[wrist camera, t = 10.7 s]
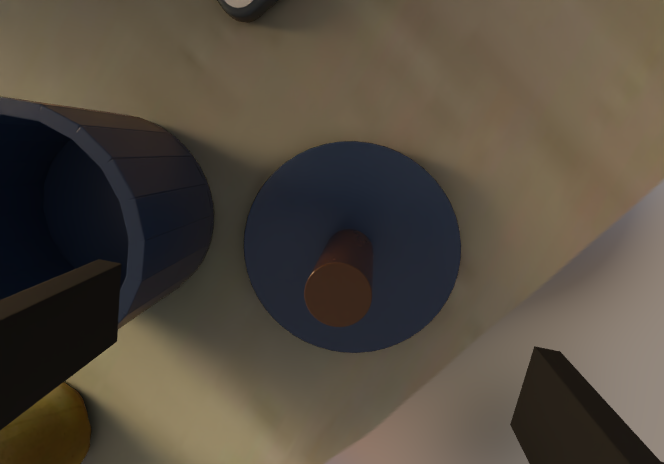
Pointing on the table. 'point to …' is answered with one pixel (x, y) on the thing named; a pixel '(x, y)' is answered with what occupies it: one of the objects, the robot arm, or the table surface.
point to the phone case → (246, 8)
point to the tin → (98, 201)
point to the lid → (352, 246)
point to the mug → (48, 431)
